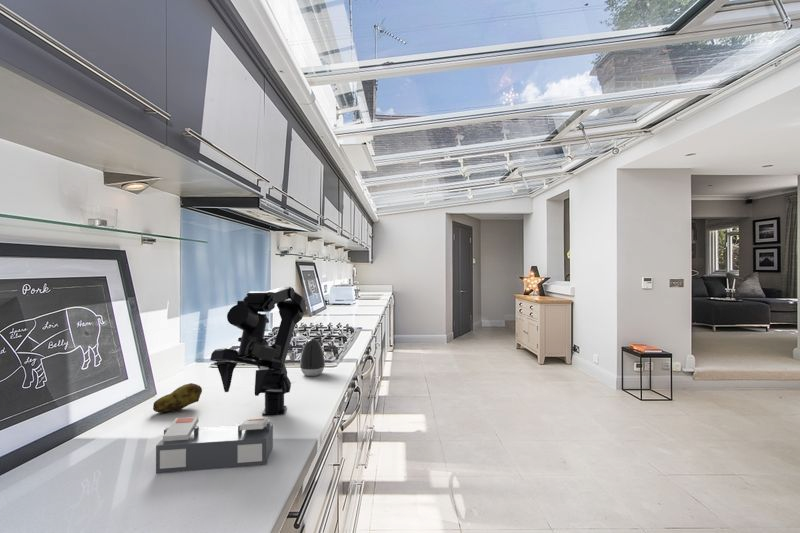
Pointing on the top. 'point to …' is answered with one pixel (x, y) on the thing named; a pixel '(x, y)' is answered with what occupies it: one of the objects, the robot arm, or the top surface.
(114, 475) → the top surface
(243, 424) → the rocker switch
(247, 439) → the power strip
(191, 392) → the potato
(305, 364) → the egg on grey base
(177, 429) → the outlet rocker
